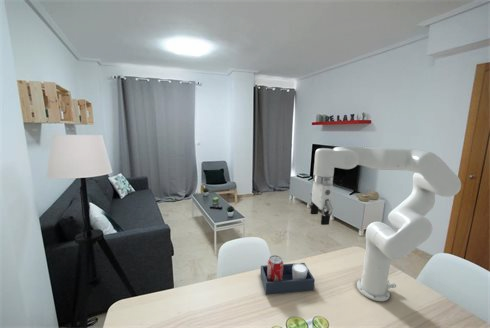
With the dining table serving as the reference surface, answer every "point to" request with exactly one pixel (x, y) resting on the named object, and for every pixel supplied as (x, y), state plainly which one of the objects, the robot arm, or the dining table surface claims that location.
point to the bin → (287, 281)
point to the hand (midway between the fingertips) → (319, 219)
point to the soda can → (275, 269)
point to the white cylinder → (299, 271)
